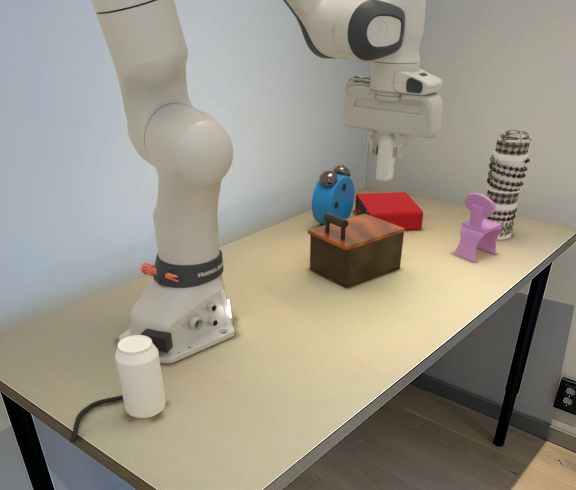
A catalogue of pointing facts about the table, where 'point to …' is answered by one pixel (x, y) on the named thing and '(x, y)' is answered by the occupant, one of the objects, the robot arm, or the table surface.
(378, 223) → the lid
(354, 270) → the chest
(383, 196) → the red device housing
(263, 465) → the table surface
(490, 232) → the toy chair
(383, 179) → the eye dropper bottle
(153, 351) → the beverage can
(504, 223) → the decorative candle
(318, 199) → the alarm clock
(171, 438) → the table surface
